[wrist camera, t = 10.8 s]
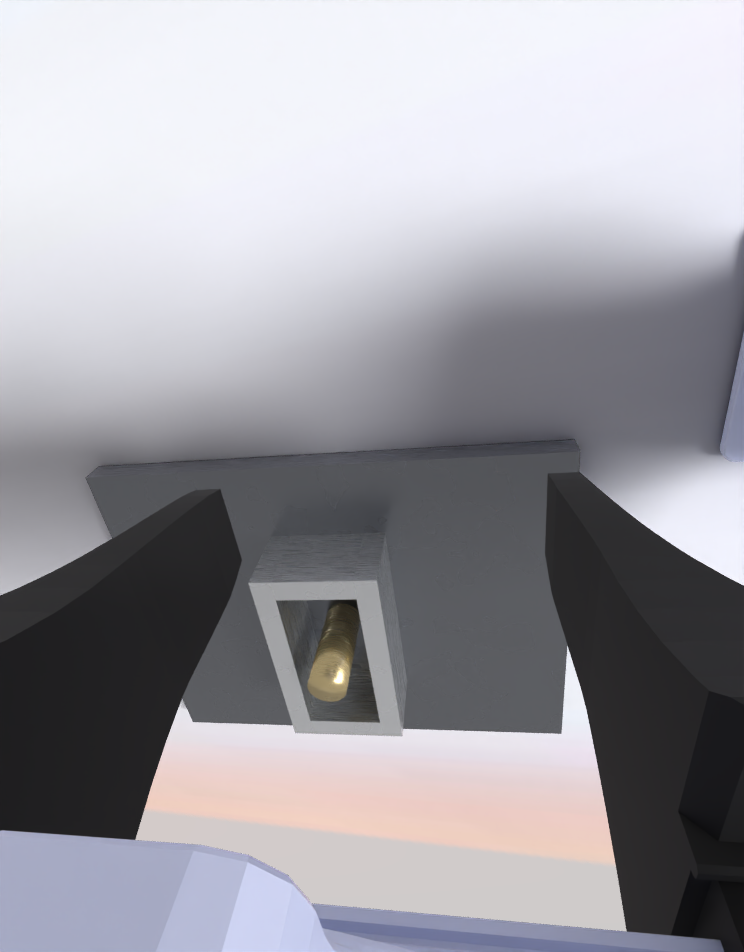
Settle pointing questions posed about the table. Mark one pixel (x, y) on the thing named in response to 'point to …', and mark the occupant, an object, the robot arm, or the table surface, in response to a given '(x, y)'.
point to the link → (294, 641)
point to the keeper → (412, 568)
